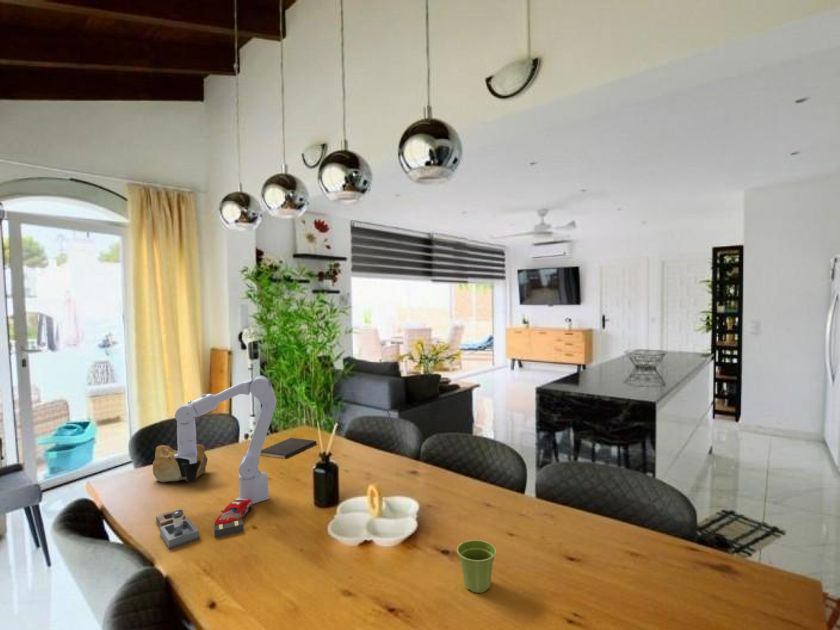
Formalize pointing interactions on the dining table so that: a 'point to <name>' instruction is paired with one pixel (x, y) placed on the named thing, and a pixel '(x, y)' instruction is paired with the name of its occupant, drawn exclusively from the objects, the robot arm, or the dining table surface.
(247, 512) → the race car
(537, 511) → the dining table surface
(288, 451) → the hardcover book
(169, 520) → the pin holder
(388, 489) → the dining table surface
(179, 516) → the pin
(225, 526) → the wheel stop
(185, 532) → the tray
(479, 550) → the plant pot
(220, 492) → the dining table surface
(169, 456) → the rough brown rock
